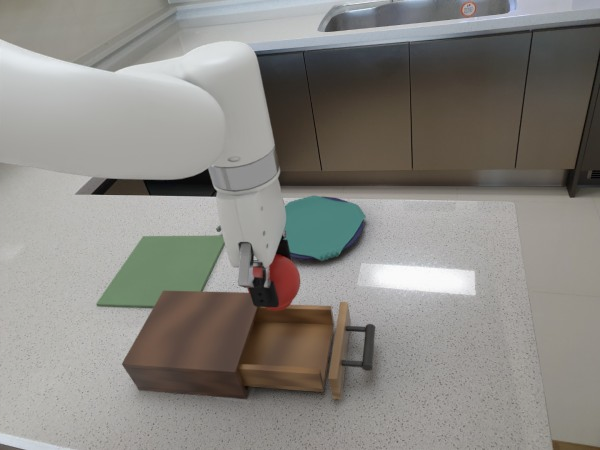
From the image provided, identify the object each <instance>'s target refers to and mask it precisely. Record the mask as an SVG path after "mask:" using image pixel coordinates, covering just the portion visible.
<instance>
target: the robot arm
mask: <svg viewBox="0 0 600 450" xmlns="http://www.w3.org/2000/svg"><path fill="white" fill-rule="evenodd" d="M259 64H260V63H259V60H258V57H257V54H256V52H255V51H254V49H253V48H252V47H251V46H250V45H249V44H248V43H245V42H243V41H239V40H223V41H215V42H211V43H206V44H204V45H200V46H198V47H195V48H193V49H192V50H189V51H188V52H186V53H185V54H183V55H181V56H176V57H172V58H167V59H163V60H158V61H152V62H146V63H140V64H139V63H138V64H134V65H130V66H126V67H123V68H121V69H117V70H116V71H111V70H104V69H101V68H95V67H91V66H86V65H83V64H80V63H79V64H78V63H75V62H70V61H66V60H62V59H58V58H54V57H52V56H49V55H46V54H42V53H39V52H35V51H33V50H31V49H26V48H24V47H22V46H19V45H16V44H14V43H11V42H8V41H6V40H3V39H1V38H0V164H7V165H12V166H13V165H14V166H21V167H26V168H32V169H37V170H44V171H50V172H55V173H62V174H67V175H74V176H81V177H88V178H89V177H90V178H99V179H111V180H112V179H113V180H115V179H116V180H148V181H149V180H150V181H151V180H153V181H154V180H155V181H165V180H166V181H169V180H170V181H171V180H172V181H173V180H183V179H186V178H190V177H194V176H196V175H199V174H201V173H203V172H204V171H206V170H207V171H208V173H209V177H210V180H211V183H212V186H213V188H214V190H215V191H216V195H215V198H216V207H217V208H216V209H217V214H218V215H217V216H218V220H219V226H221V233H222V236H223V239H224V243H225V244H224V247H225V250H226V254H227V257H228V260H229V263H230V265H231V267H232V268H235V269H236V268H238V275H237V285H238V286H239V287H242V288H245V289H247V288H249V292H250V295H251V298H252V301H253V304H254V306H256V307H278V305H279V300H278V296H277V292H276V288H275V285H274V281H270V267H269V265H270V264H271V263H272V261H273V259H274V257H275V254H278V255H282V256H285V257H287V258H288V259H290V260H291V261H292V262H293V259H292V257H291V254H290V249H289V245H288V240H283V239H286V236H287V232H286V229H285V224H286V211H285V206H286V204H285V201H284V196H283V192H282V188H281V184H280V181H279V177H280V174H281V167H280V161H279V158H278V153H277V148H276V143H275V138H274V133H273V132H274V131H273V128H272V124H271V118H270V113H269V108H268V103H267V98H266V94H265V89H264V84H263V79H262V74H261V69H260V65H259ZM257 259H258V260H257ZM253 267H262V274H263V278H261V277H254V276H253ZM249 292H248V293H249Z"/></svg>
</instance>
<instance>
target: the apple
mask: <svg viewBox="0 0 600 450" xmlns="http://www.w3.org/2000/svg"><path fill="white" fill-rule="evenodd" d="M256 260H258V259H257V258H256ZM269 267H270V281H274V285H275V288H276V292H277V296H278V300H279V305H278V307H266V308H267V309H269V310H272V311H279V310H283V309H285V308H287V307H288V306H289V305H292V302H293V301H294V300H295V298H296V297H297V295H298V293H299V290H300V288H301V274H300V272H299V269H298V267H297V265H296V264H295V263H294V262H293V260H292V261H291V260H290V259H288V258H287V257H285V256H282V255H278V254H275V257H274V259H273V261H272V263H271V264H270V265H269ZM253 276H254V277H261V278H263V274H262V267H253ZM246 289H247V291H248V292H247V293H249V294H250V292H249V288H246ZM250 296H251V295H250Z"/></svg>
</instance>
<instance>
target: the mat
mask: <svg viewBox="0 0 600 450" xmlns="http://www.w3.org/2000/svg"><path fill="white" fill-rule="evenodd" d="M224 247H225V243H224V239H223V235H143V236H142V237H141V238H140V240H139V242H137V244H136V246H135V247H134V248H133V250H132V252H131V253H130V255H129V256H128V257H127V259H126V260H125V262H124V263H123V264H122V266H121V267H120V269H119V270H118V272H117V273H116V275H115V276H114V277H113V279H112V280H111V282H110V283H109V284H108V286H107V287H106V289H105V291H104V292H103V293H102V295H101V296H100V298H99V299H98V301H97V302H96V303H95V305H96V306H97V307H113V308H114V307H117V308H144V309H145V308H146V309H153V308H154V306H155V304H156V302H157V301H158V299H159V297H160V295H161V293H162V292H163V291H204V288H205V286H206V284H207V282H208V280H209V277H210V276H211V273H212V272H213V269H214V267H215V265H216V263H217V262H218V259H219V257H220V255H221V252H222V250H223V249H224Z"/></svg>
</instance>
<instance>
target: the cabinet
mask: <svg viewBox="0 0 600 450" xmlns="http://www.w3.org/2000/svg"><path fill="white" fill-rule="evenodd" d="M258 310H259V307H256V306H254V304H253V301H252V298H251V296H250V294H249V292H241V291H240V292H239V291H204V290H202V291H163V292H162V293H161V295H160V297H159V299H158V301H157V302H156V304H155V306H154V308H151V311H150V312H149V315H148V316H147V318H146V320H145V321H144V324H143V325H142V327H141V329H140V331H139V332H138V334H137V336H136V337H135V339H134V341H133V343H132V344H131V347H130V349H129V350H128V352H127V354H126V356H125V357H124V359H123V361H122V363H121V365H122V367H123V369H124V370H125V371H126V373H127V375H128V376H129V377H130V379H131V381H132V382H133V384H134V385H135V387H136V389H137V390H138V391H145V392H146V391H148V392H160V393H169V394H182V395H183V394H184V395H193V396H205V397H206V396H207V397H216V398H217V397H218V398H229V399H240V400H247V399H248V395H249V394H250V393H249V392H250V389H251V386H244V384H243V381H242V379H241V376H240V374H239V371H238V370H239V367H240V364H241V361H242V358H243V355H244V352H245V349H246V346H247V343H248V340H249V337H250V334H251V331H252V328H253V325H254V322H255V319H256V316H257V313H258Z"/></svg>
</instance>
